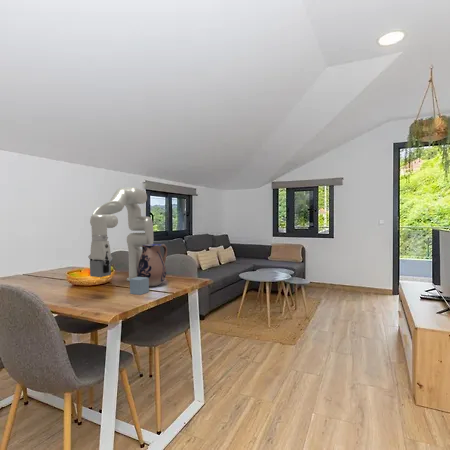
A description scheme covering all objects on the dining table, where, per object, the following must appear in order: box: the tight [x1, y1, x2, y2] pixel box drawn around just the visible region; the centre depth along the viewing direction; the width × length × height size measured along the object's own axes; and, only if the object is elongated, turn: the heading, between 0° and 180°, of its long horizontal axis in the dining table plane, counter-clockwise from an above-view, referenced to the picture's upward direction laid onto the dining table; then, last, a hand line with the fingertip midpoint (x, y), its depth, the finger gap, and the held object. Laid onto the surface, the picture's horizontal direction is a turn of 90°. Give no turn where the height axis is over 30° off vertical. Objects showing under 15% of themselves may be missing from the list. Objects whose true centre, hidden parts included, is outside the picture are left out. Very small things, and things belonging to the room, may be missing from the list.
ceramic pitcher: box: [137, 243, 168, 287], centre depth 191 cm, size 18×21×25 cm
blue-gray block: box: [129, 277, 150, 296], centre depth 171 cm, size 7×7×8 cm
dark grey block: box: [89, 260, 112, 278], centre depth 162 cm, size 7×7×8 cm
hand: (100, 271), depth 162 cm, fingers closed on dark grey block, 7 cm apart
